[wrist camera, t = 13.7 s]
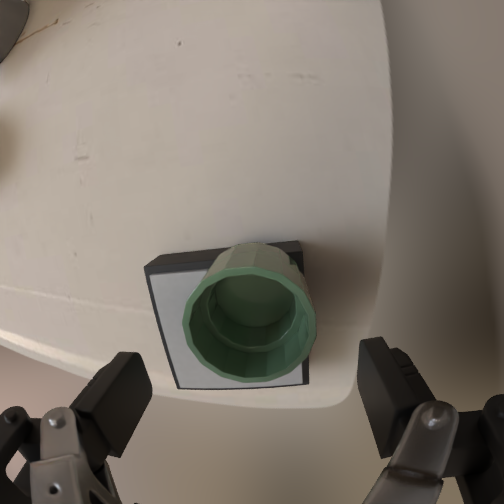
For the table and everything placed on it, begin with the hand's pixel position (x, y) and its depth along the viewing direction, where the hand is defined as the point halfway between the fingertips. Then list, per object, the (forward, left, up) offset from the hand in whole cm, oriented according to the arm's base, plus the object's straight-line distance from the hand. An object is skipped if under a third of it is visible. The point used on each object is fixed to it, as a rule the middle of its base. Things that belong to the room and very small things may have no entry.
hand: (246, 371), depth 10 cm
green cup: (0, 0, -8) cm, 8 cm away
